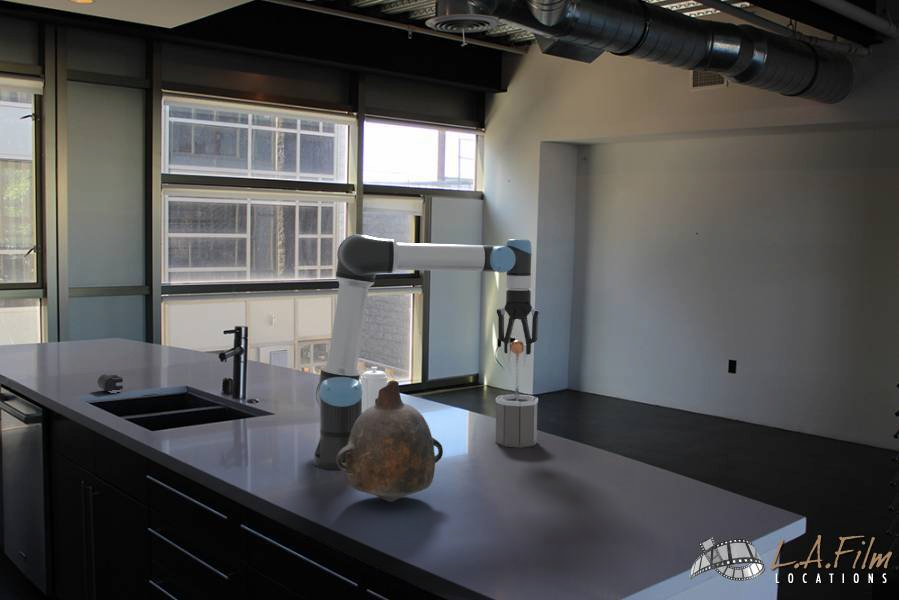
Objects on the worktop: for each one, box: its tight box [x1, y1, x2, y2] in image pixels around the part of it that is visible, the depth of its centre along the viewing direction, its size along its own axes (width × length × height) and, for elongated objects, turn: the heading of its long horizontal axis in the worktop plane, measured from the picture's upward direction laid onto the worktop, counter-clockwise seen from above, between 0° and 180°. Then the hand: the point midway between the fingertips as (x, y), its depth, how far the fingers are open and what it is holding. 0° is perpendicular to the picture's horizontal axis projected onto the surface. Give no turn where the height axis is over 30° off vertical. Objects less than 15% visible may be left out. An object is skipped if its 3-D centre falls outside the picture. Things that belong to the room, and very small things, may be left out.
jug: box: [336, 379, 444, 503], centre depth 198 cm, size 24×21×30 cm
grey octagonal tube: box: [495, 393, 539, 449], centre depth 259 cm, size 16×12×14 cm
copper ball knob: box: [511, 339, 525, 401], centre depth 256 cm, size 8×8×21 cm
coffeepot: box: [360, 366, 389, 412], centre depth 286 cm, size 11×25×19 cm, turn 168°
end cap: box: [97, 373, 124, 392], centre depth 335 cm, size 10×7×7 cm
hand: (517, 364), depth 256 cm, fingers closed on copper ball knob, 4 cm apart
